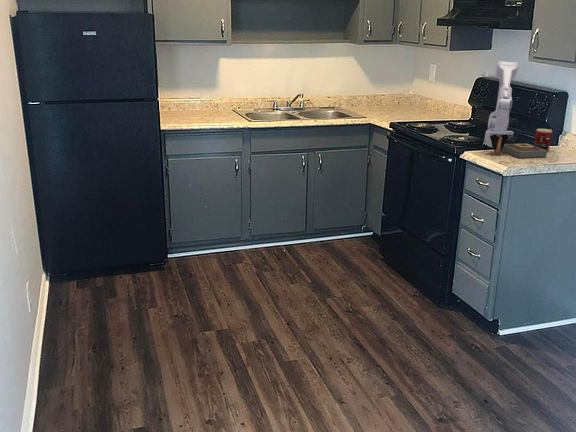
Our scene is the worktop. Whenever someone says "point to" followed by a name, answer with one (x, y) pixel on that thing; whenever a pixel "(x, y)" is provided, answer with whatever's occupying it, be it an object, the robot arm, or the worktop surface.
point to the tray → (524, 151)
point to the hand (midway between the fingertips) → (497, 149)
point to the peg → (498, 146)
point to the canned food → (543, 138)
